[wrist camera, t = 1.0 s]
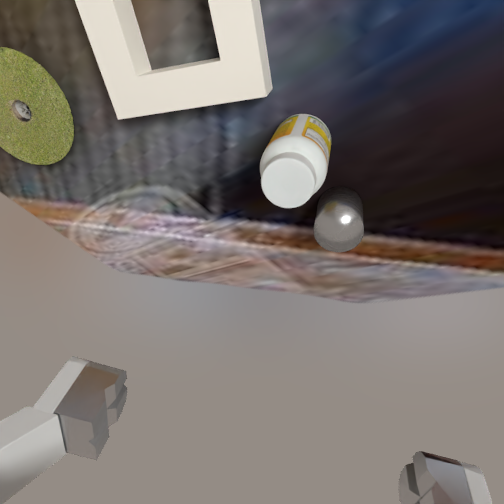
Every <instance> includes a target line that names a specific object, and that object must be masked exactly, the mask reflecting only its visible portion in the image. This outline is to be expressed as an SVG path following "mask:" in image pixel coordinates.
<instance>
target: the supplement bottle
mask: <svg viewBox="0 0 504 504" xmlns="http://www.w3.org/2000/svg"><path fill="white" fill-rule="evenodd" d="M330 150H331V136H330V133H329V130H328V128H327V127H326V125H325V124H324V123H323V122H322V121H321V120H320V119H319V118H317V117H315V116H312V115H309V114H296V115H293V116H291V117H289V118H287V119H286V120H284V121H283V122H282V123H281V124H280V125H279V127H278V128H277V130H276V131H275V133H274V135H273V137H272V139H271V140H270V142H269V144H268V146H267V147H266V149H265V151H264V153H263V155H262V157H261V161H260V174H261V186H262V190H263V192H264V194H265V196H266V197H267V199H268V200H269V201H271V202H272V203H273V204H275V205H277V206H279V207H283V208H295V207H298V206H301V205H303V204H304V203H306V202H307V201H308V200H309V199H310V197H311V196H312V195H313V194H314V193H316V192H317V191H318V190H319V189H320V187H321V186H322V184H323V182H324V180H325V178H326V174H327V168H328V162H329V156H330Z"/></svg>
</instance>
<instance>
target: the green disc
mask: <svg viewBox="0 0 504 504" xmlns="http://www.w3.org/2000/svg"><path fill="white" fill-rule="evenodd" d="M73 136H74V125H73V117H72V114H71V109H70V107H69V104H68V102H67V100H66V98H65V95H64V93H63V92H62V90H61V89H60V88H59V86H58V84H57V83H56V82H55V80H54V79H53V78H52V77H51V75H50V74H49V73H48V72H47V71H46V70H45V69H44V68H43V67H42V66H41V65H40V64H38V63H37V62H36V61H34V60H33V59H32V58H30V57H28V56H26V55H25V54H23V53H21V52H19V51H16V50H14V49H9V48H4V47H0V147H2V148H3V149H4V150H5V151H6V152H8V153H9V154H11V155H13V156H14V157H16V158H18V159H20V160H22V161H24V162H27V163H31V164H36V165H48V164H52V163H55V162H58V161H60V160H61V159H62V158H64V156H66V154H67V153H68V151H69V150H70V148H71V145H72V142H73V138H74V137H73Z"/></svg>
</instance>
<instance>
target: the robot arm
mask: <svg viewBox="0 0 504 504" xmlns="http://www.w3.org/2000/svg"><path fill="white" fill-rule="evenodd" d="M126 379H127V376H126V371H124V370H120V369H117V368H113V367H109V366H106V365H102V364H99V363H94V362H92V361H89V360H85V359H81V358H77V357H74V356H73V357H72V358H71V359H69V360H68V361H67V362H66V363H65V365H64V366H63V368H62V369H61V370H60V371H59V373H58V374H57V375H56V377H55V378H54V379H53V381H52V382H51V383H50V385H49V386H48V387H47V389H46V390H45V392H44V393H43V394H42V396H41V397H40V398H39V400H38V401H37V402H36V404H35V405H34V406H33V407H29V406H27V407H25V408H23V409H21V410H20V411H18V412H16V413H14V414H12V415H10V416H9V417H7V418H5V419H3V420H1V421H0V504H3V503H4V502H6V501H7V500H8V499H9V498H11V497H12V496H13V495H15V494H16V493H17V492H18V491H20V490H21V489H22V488H23V487H25V486H26V485H28V484H29V483H30V482H31V481H32V480H34V479H35V478H37V476H39V475H40V474H42V473H43V472H44V471H46V470H47V469H48V468H49V467H51V466H52V465H53V464H55V463H56V462H57V461H59V460H60V459H61V458H62V457H64V456H65V455H66V453H71V454H74V455H78V456H82V457H86V458H90V459H94V460H97V459H98V457H99V455H100V453H101V451H102V449H103V447H104V445H105V444H106V442H107V440H108V438H109V429H108V428H109V426H111V425H112V424H114V423H115V422H117V421H118V419H119V417H120V414H121V412H122V410H123V407H124V405H125V402H126V396H127V388H126V386H125V385H124V383H125V381H126ZM413 462H414V463H411V464H408V465H406V466H405V467H404V468H403V470H402V471H401V474H400V479H399V498H400V502H401V504H492V500H491V497H490V494H489V491H488V488H487V484H486V481H485V478H484V475H483V472H482V471H481V469H480V468H479V467H477V466H475V465H471V464H467V463H463V462H460V461H457V460H453V459H450V458H446V457H442V456H438V455H434V454H430V453H426V452H422V451H419V452H416V453H415V455H414V456H413Z"/></svg>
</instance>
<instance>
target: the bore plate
mask: <svg viewBox="0 0 504 504" xmlns="http://www.w3.org/2000/svg"><path fill="white" fill-rule="evenodd" d="M75 2H76V5H77V8H78V10H79V13H80V16H81V19H82V22H83V24H84V27H85V30H86V33H87V35H88V38H89V41H90V44H91V46H92V49H93V52H94V55H95V57H96V60H97V63H98V66H99V68H100V71H101V74H102V77H103V79H104V82H105V85H106V88H107V90H108V93H109V96H110V99H111V101H112V104H113V107H114V110H115V112H116V115H117V118H118V120H119V119H126V118H132V117H139V116H145V115H152V114H158V113H165V112H171V111H177V110H184V109H190V108H197V107H203V106H210V105H216V104H223V103H229V102H235V101H242V100H248V99H255V98H261V97H267V95H268V94H269V93H270V92H271V90H272V89H273V88H272V81H271V75H270V68H269V61H268V55H267V48H266V41H265V35H264V28H263V21H262V14H261V8H260V1H259V0H208V2H209V7H210V12H211V16H212V21H213V26H214V31H215V36H216V40H217V45H218V50H219V55H220V57H219V58H214V59H209V60H203V61H198V62H193V63H188V64H182V65H177V66H172V67H167V68H161V69H156V70H151V66H150V63H149V60H148V56H147V53H146V50H145V46H144V43H143V40H142V36H141V33H140V30H139V26H138V23H137V19H136V16H135V13H134V9H133V6H132V3H131V0H75Z"/></svg>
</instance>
